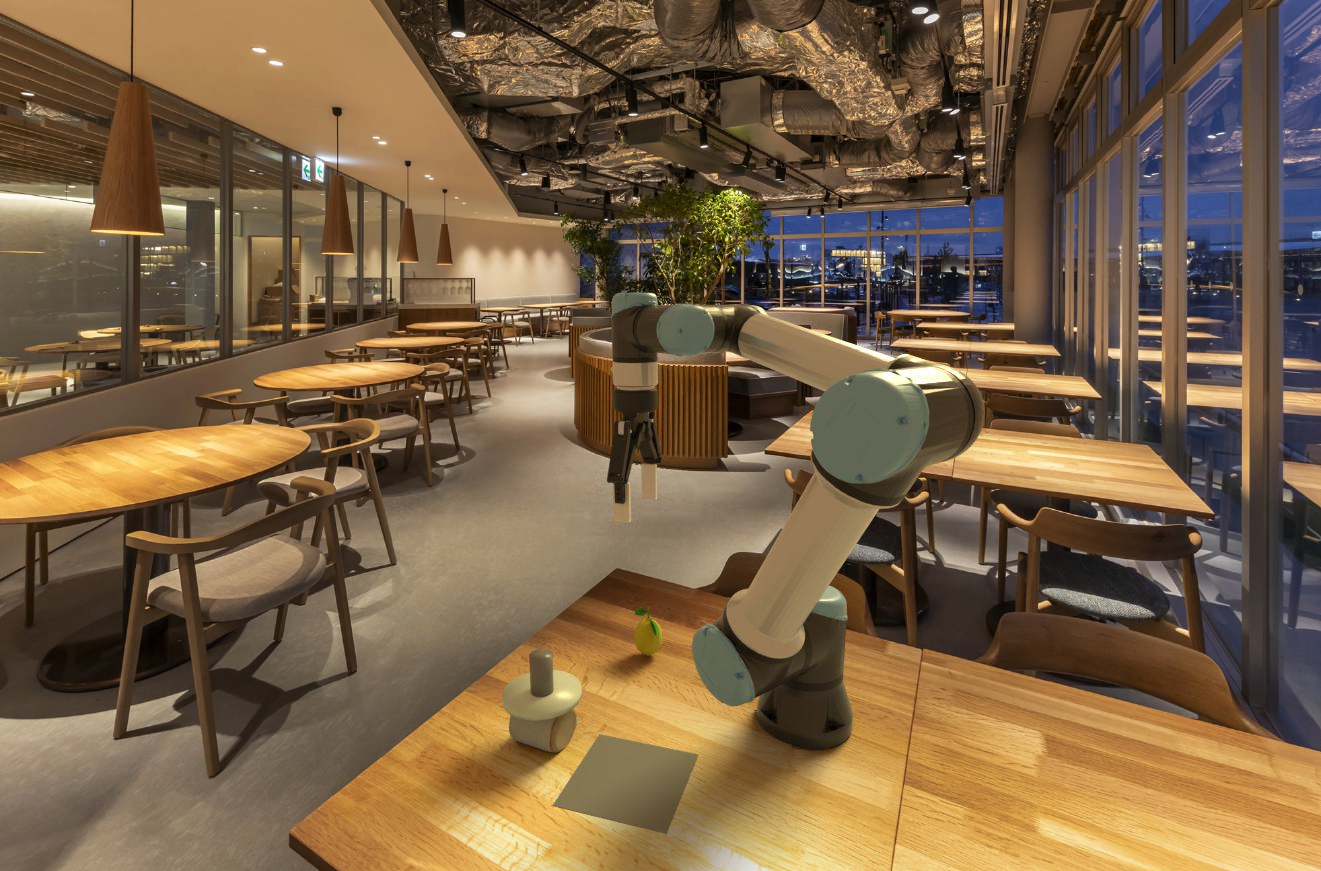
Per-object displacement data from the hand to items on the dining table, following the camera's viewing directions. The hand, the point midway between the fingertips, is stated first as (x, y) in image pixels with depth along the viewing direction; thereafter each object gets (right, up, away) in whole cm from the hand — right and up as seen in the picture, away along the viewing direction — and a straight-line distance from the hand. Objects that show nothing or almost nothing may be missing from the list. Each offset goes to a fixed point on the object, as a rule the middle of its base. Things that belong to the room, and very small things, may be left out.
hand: (636, 509), depth 115 cm
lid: (-14, -27, -13) cm, 33 cm away
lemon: (+2, -30, +14) cm, 33 cm away
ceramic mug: (-13, -35, -11) cm, 39 cm away
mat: (0, -36, -21) cm, 42 cm away
